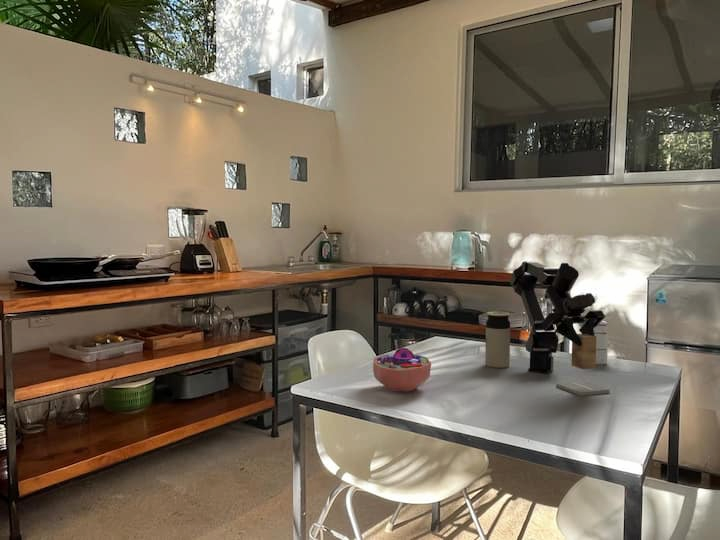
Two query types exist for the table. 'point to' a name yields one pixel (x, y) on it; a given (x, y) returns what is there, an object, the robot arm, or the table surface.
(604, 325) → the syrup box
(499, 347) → the travel mug
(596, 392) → the coaster
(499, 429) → the table surface
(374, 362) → the cell model
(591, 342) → the walnut block
